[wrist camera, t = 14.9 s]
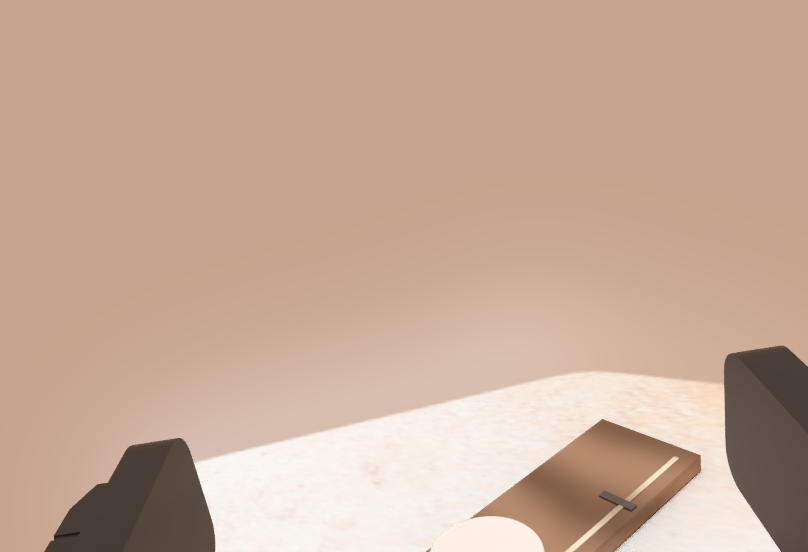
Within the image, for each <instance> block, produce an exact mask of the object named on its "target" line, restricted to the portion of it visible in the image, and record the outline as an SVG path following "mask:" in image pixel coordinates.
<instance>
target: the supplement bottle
mask: <svg viewBox="0 0 808 552" xmlns="http://www.w3.org/2000/svg"><path fill="white" fill-rule="evenodd" d="M430 552H545V550H544V546H543V544H542V542H541V540H540V538H539V537H538V535H537V534H536V533H535V532H534V531H533V530H532V529H531V528H529V527H528V526H526V525H525V524H523V523H521V522H519V521H516V520H513V519H510V518H505V517H498V516H485V517H477V518H472V519H468V520H465V521H462V522H460V523H458V524H456V525H454V526H452V527H450V528H449V529H447V530H446V531H445V532H443V533H442V534H441V535H440V536H439V537H438V538H437V540H436V541H435V542H434V544H433V546H432V548H431V550H430Z"/></svg>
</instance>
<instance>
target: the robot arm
mask: <svg viewBox="0 0 808 552" xmlns="http://www.w3.org/2000/svg"><path fill="white" fill-rule="evenodd" d="M724 388H725V438H726V453H727V458H728V463H729V467H730V470H731V473H732V476H733V478H734V481H735V483H736V485H737V487H738V489H739V490H740V492H741V493H742V495H743V496H744V498H745V499H746V501H747V502H748V503H749V505H750V506H751V508H752V509H753V511H754V512H755V514H756V515H757V517H758V518H759V520H760V521H761V523H762V524H763V526H764V527H765V529H766V530H767V531H768V533H769V534H770V536H771V537H772V539H773V540H774V542H775V543H776V545H777V546H778V548H779V549H780V551H781V552H808V367H807V366H806V365H805V364H804V363H803V362H802V361H801V360H800V359H799V358H797V356H795V354H793V353H792V352H791V351H790V350H789V349H788V348H787V347H785V346H776V347H769V348H763V349H756V350H750V351H743V352H737V353H731V354H729V355H728V356H727V358H726V360H725V365H724ZM45 552H215V534H214V528H213V523H212V519H211V516H210V513H209V510H208V507H207V504H206V500H205V497H204V494H203V491H202V488H201V485H200V481H199V478H198V475H197V472H196V469H195V466H194V462H193V459H192V456H191V453H190V450H189V448H188V446H187V444H186V442H185V441H184V440H183V439H181V438H176V439H170V440H163V441H157V442H150V443H144V444H138V445H132V446H130V447H129V448H128V449H127V450H126V451H125V453H124V455H123V457H122V458H121V460H120V462H119V464H118V466H117V468H116V469H115V471H114V473H113V475H112V476H111V478H110V480H109V482H108V483H105V484H97V485H96V486H95V487H94V488H93V489H92V490H91V491H89V492H88V493H87V494H86V495H85V496H84V497H83V498H82V499H81V500H80V501H78V502H77V503H76V504H75V505H74V506H73V507H72V508H71V509H70V510H69V511H68V513H67V515H66V517H65V518H64V520H63V522H62V523H61V525H60V526H59V528H58V530H57V532H56V533H55V535H54V541H51V542H50V543H49V545H48V547H47V548H46V550H45Z"/></svg>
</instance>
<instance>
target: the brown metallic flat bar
mask: <svg viewBox="0 0 808 552" xmlns="http://www.w3.org/2000/svg"><path fill="white" fill-rule="evenodd" d="M700 471H701V458H700V455H698V454H695V453H693V452H690V451H687V450H685V449H682V448H679V447H676V446H674V445H671V444H668V443H666V442H663V441H660V440H657V439H655V438H652V437H649V436H647V435H644V434H641V433H638V432H636V431H633V430H630V429H628V428H625V427H622V426H620V425H617V424H614V423H611V422H609V421H606V420H603V419H602V420H601V421H599V422H598V423H597V424H595V425H594V426H593V427H591V428H590V429H589V430H587V431H586V432H585V433H583V434H582V435H581V436H579V437H578V438H577V439H575V440H574V441H573V442H571V443H570V444H569V445H567V446H566V447H565V448H563V449H562V450H561V451H559V452H558V453H557V454H555V455H554V456H553V457H551V458H550V459H549V460H547V461H546V462H545V463H543V464H542V465H541V466H539V467H538V468H537V469H535V470H534V471H533V472H531V473H530V474H529V475H527V476H526V477H525V478H523V479H522V480H521V481H519V482H518V483H517V484H515V485H514V486H513V487H511V488H510V489H509V490H507V491H506V492H505V493H503V494H502V495H501V496H499V497H498V498H497V499H496V500H494V501H493V502H492V503H490V504H489V505H488V506H486V507H485V508H484V509H482V510H481V511H480V512H478V513H477V514H476V515H474V516H473V517H472V518H477V517H485V516H498V517H505V518H510V519H513V520H516V521H519V522H521V523H523V524H525V525H526V526H528V527H529V528H531V529H532V530H533V531H534V532H535V533H536V534H537V535H538V537H539V538H540V540H541V542H542V544H543V546H544V550H545V552H613V551H614V550H615V549H616V548H618V547H619V546H620V545H621V544H622V543H623V542H624V541H625V540H626V539H627V538H628V537H629V536H631V535H632V534H633V533H634V532H635V531H636V530H637V529H638V528H639V527H640V526H641V525H642V524H643V523H645V522H646V521H647V520H648V519H649V518H650V517H651V516H652V515H653V514H654V513H655V512H656V511H658V510H659V509H660V508H661V507H662V506H663V505H664V504H665V503H666V502H667V501H668V500H669V499H671V498H672V497H673V496H674V495H675V494H676V493H677V492H678V491H679V490H680V489H681V488H682V487H683V486H685V485H686V484H687V483H688V482H689V481H690V480H691V479H692V478H693V477H694V476H695V475H696V474H698V473H699V472H700ZM472 518H470V519H472ZM430 550H431V548H430V549H429V550H428V551H426V552H430Z"/></svg>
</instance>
